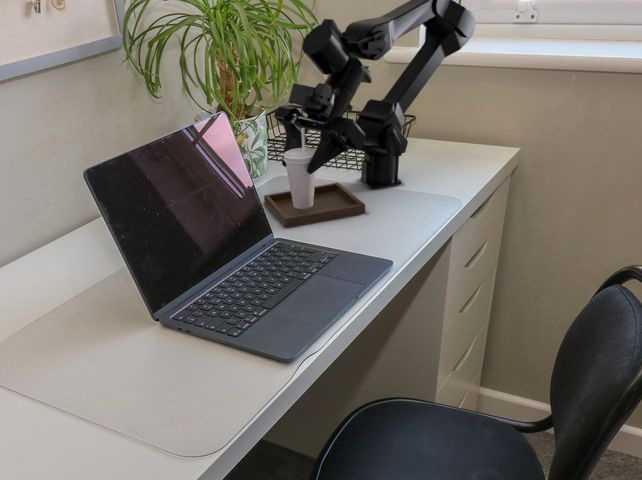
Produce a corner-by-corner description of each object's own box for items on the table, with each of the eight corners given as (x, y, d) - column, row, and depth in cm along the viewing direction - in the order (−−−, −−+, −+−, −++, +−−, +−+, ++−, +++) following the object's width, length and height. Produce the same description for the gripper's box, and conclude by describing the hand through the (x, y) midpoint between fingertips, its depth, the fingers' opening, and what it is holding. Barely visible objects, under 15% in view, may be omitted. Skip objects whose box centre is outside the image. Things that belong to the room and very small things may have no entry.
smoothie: (315, 212, 126) (313, 133, 118) (282, 210, 128) (277, 133, 120) (323, 199, 131) (321, 122, 123) (291, 198, 133) (287, 122, 125)
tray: (338, 190, 139) (338, 182, 138) (365, 213, 128) (365, 204, 127) (264, 203, 136) (263, 195, 135) (285, 227, 126) (285, 219, 125)
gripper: (278, 57, 123) (236, 136, 125) (354, 68, 111) (307, 155, 113) (311, 94, 132) (272, 168, 133) (385, 108, 120) (341, 188, 121)
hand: (295, 169), depth 125 cm, fingers closed on smoothie, 6 cm apart
